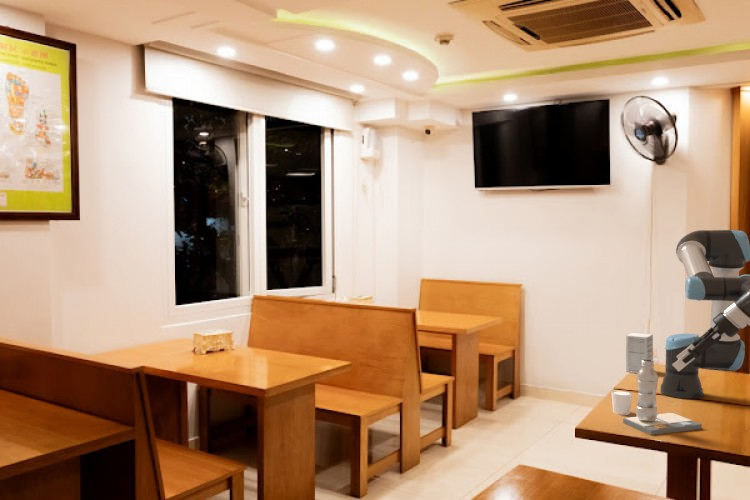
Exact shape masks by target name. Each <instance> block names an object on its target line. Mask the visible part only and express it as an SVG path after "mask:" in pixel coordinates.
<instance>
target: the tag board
mask: <svg viewBox="0 0 750 500" xmlns="http://www.w3.org/2000/svg"><path fill="white" fill-rule="evenodd" d="M622 420H623V421H622V423H623V424H625V425H627V426H630V427H632V428H634V429H636V430H639V431H641V432H643V433H645V434H647V435H649V436H655V434H656V435H663V434H670V433H677V432H685V431H687V432H688V431H696V430H702V428H703V426H702V425H703V424H702V423H699V422H697V421H694V420H692V419H690V418H687V417H685V416H681V415H679V414H676V413H673V412H666V413H658V415H657V419H656V420H655V421H642V420H639V419H638V418H637V416H631V417H629V416H628V417H624V418H622Z"/></svg>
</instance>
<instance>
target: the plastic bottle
mask: <svg viewBox="0 0 750 500" xmlns="http://www.w3.org/2000/svg"><path fill="white" fill-rule="evenodd" d="M641 366H642V368H641V369H640V370H639V372H638V373H636V381H637V392H638V393H637V404H636V408H635V415H636V416H635V417H637V418H638V419H639V420H642V421H655V420H656V419H657V415H658V414H659V413H658V407H657V386H658V381H659V375H658V373H657V371H656V370H655V369H654V367H655V365H654V359H653V360H648V359H643V360H641Z"/></svg>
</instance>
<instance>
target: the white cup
mask: <svg viewBox="0 0 750 500" xmlns="http://www.w3.org/2000/svg"><path fill="white" fill-rule="evenodd" d="M610 395H611V400H612V401H611V403H612V413H614V414H616V415H620V416H626V415H628V416H629V415H630V414H631V406H632V396H633V393H631V392H628V391H624V390H613V391H611V394H610Z"/></svg>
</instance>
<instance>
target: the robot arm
mask: <svg viewBox="0 0 750 500" xmlns="http://www.w3.org/2000/svg"><path fill="white" fill-rule="evenodd" d="M675 251H676V252H675V253H676V257H677V259H678V261H679V262H681V263H682V265H683V267H684V270H685V272H686V276H687V277H686V279H685V282H684V283H685V284H684V291H685V297H686V298H687V299H688V300H693V301H695V300H696V301H711V303H710V305H711V306H710V307H711V308H710V323H709V325H710V327H709V329H708V330H707V331H705V332H704V333H703V334H702V335H701V336H699V334H697V333H677V334H673V335H669V336H668V337H666V341H665V347H664V349H665V374H664V376H663V379H662V383H661V384H660V387H659V388H660V389H659V390H660V393H661V394H663V395H665V396H668V397H672V398H678V399H686V400H687V399H693V400H694V399H701V398H703V397H704V389H703V387H702V383H701V380H700V377H699V369H704V370H718V371H719V370H722V371H737V370H739V369H740V368H741V367H742V365H743V363H744V359H745V352H746V351H745V349H746V347H745V346H746V345H745V343H744V340H741V336H740V335H739V334H738V333H740V331H741V329H744V328H745V327H747V326H750V274H742V275H740V271H741V270H742V269H744V268H745V263H748V262H749V261H750V241H749V237H748V235H747V233H746V232H745V231H743V230H736V229H735V230H734V229H711V230H709V229H708V230H706V229H705V230H704V229H701V230H695V231H692V232H690V233H688V234H686V235H684V236H683V237H682V238H681V239H680V240H679V241H678V243H677V245H676V249H675Z"/></svg>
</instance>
